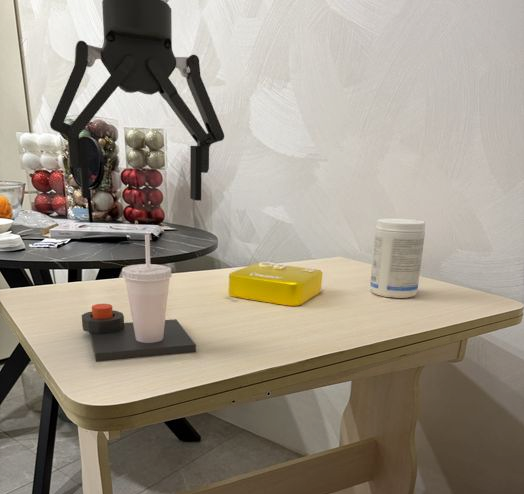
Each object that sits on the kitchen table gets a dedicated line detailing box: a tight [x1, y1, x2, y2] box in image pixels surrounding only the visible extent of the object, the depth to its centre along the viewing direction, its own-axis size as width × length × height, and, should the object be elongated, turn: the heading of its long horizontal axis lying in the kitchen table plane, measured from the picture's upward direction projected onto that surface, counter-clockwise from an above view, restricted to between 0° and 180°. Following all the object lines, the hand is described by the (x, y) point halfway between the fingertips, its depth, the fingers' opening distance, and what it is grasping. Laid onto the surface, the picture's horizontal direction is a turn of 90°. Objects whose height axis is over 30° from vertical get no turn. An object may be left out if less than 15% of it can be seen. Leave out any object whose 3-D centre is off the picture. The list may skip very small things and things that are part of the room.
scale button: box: [91, 303, 114, 319], centre depth 74 cm, size 3×3×2 cm
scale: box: [81, 309, 197, 363], centre depth 73 cm, size 14×13×3 cm
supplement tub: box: [369, 218, 426, 299], centre depth 105 cm, size 10×10×15 cm
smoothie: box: [121, 233, 173, 343], centre depth 69 cm, size 6×6×14 cm
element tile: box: [228, 261, 323, 307], centre depth 102 cm, size 15×15×5 cm
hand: (142, 198), depth 65 cm, fingers open, 13 cm apart
